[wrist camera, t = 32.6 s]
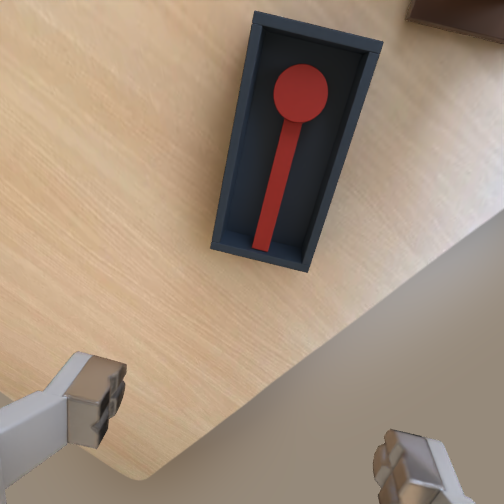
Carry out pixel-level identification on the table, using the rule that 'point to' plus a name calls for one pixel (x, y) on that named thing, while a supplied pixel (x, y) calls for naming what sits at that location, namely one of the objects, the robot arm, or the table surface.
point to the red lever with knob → (289, 137)
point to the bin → (309, 142)
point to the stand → (461, 16)
